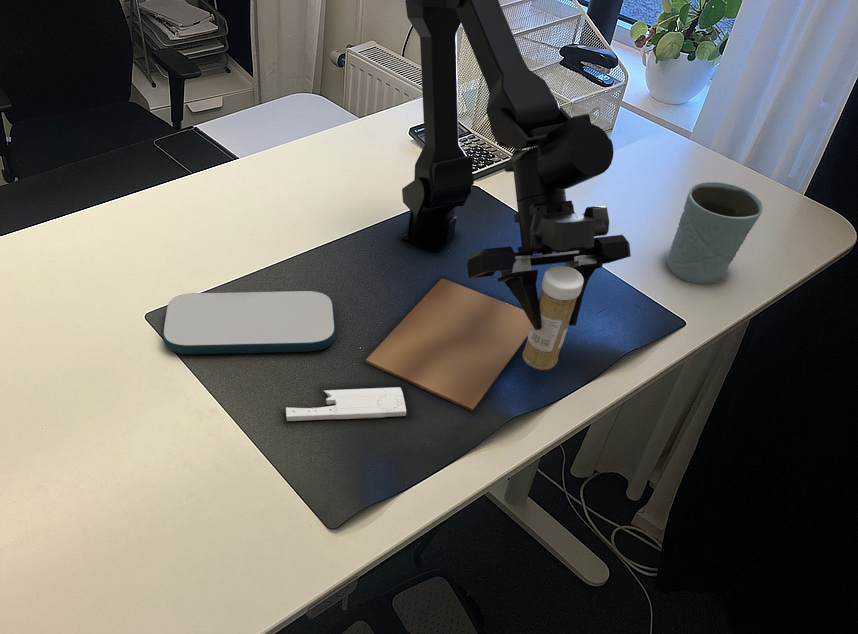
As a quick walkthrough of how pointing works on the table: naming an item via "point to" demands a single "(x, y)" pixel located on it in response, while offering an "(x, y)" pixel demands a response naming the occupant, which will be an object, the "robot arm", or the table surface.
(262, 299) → the external hard drive
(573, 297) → the sprinkles bottle
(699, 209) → the green ceramic cup
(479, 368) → the cork placemat
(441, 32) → the robot arm
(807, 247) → the table surface
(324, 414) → the white plastic blade
